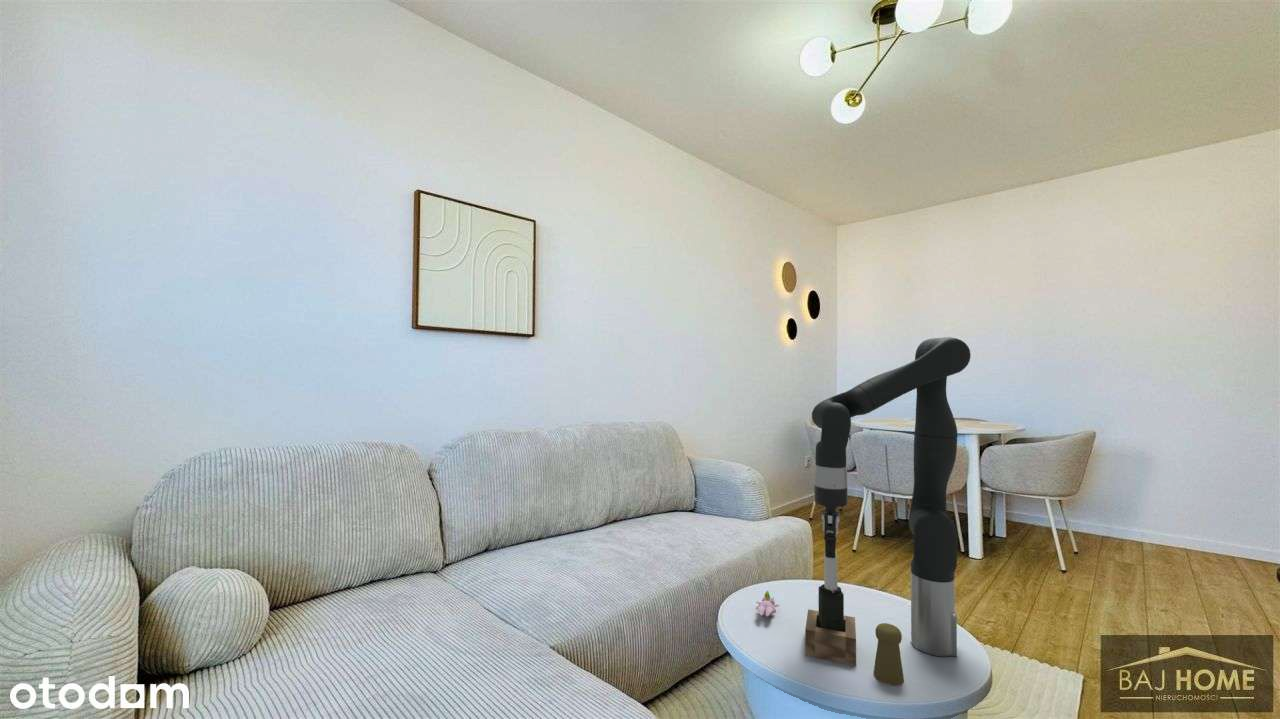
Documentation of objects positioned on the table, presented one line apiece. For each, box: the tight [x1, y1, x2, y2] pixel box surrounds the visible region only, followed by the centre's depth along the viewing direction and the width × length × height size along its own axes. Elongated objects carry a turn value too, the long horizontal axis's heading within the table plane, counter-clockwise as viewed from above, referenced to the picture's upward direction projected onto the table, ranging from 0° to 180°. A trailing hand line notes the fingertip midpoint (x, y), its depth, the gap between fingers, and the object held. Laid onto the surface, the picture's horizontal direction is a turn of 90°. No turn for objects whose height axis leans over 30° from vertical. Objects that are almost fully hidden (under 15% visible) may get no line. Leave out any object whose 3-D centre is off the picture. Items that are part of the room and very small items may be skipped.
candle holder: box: [804, 609, 857, 667], centre depth 123 cm, size 11×11×6 cm
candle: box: [818, 550, 845, 632], centre depth 123 cm, size 5×5×25 cm
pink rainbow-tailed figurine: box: [756, 590, 780, 617], centre depth 140 cm, size 6×6×15 cm
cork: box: [873, 622, 905, 687], centre depth 111 cm, size 6×6×11 cm
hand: (830, 551), depth 123 cm, fingers open, 8 cm apart
